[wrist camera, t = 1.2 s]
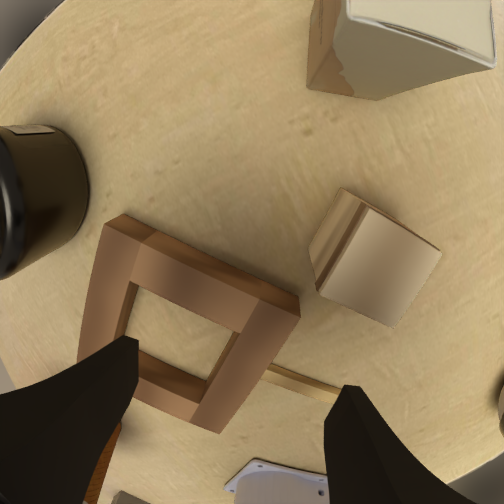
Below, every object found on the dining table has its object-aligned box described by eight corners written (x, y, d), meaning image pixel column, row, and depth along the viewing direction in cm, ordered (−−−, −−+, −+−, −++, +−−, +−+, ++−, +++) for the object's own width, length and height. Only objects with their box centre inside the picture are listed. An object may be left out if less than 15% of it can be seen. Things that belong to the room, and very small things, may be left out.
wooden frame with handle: (386, 335, 20) (396, 357, 17) (299, 436, 24) (299, 458, 21) (123, 213, 19) (103, 223, 16) (90, 347, 22) (76, 365, 20)
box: (310, 12, 14) (340, -115, 3) (382, 26, 14) (477, -67, 3) (304, 94, 15) (345, 17, 5) (380, 106, 15) (503, 71, 5)
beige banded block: (397, 219, 17) (443, 253, 12) (364, 277, 19) (393, 330, 13) (340, 186, 17) (369, 206, 11) (306, 248, 18) (317, 295, 13)
